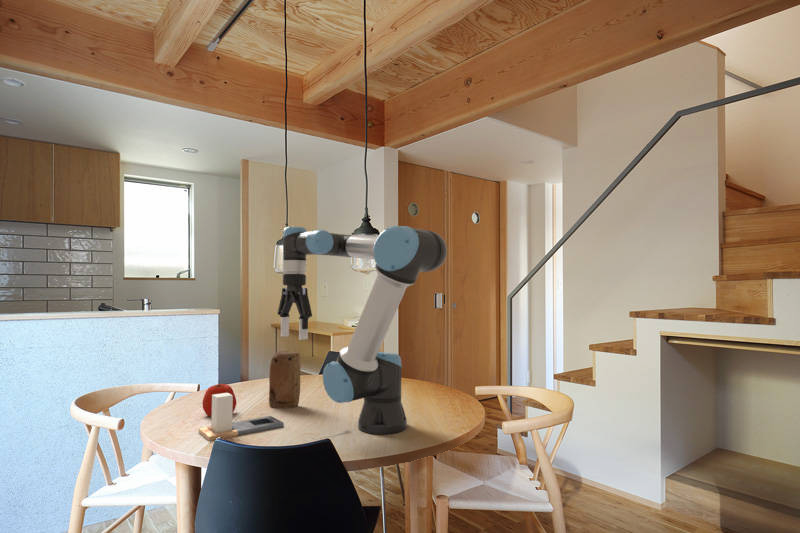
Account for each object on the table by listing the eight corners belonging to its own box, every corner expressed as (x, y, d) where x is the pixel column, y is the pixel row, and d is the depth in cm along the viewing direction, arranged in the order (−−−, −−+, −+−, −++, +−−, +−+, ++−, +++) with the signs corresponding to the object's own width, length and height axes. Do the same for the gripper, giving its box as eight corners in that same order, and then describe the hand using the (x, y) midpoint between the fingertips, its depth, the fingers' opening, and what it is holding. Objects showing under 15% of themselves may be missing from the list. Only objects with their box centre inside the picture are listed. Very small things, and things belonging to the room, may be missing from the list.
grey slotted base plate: (283, 429, 143) (283, 422, 143) (208, 444, 129) (209, 436, 129) (270, 422, 150) (270, 415, 151) (198, 435, 137) (198, 428, 137)
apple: (202, 412, 162) (203, 381, 163) (235, 409, 166) (236, 379, 166) (201, 420, 152) (202, 387, 153) (236, 417, 156) (237, 385, 156)
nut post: (232, 433, 136) (232, 395, 136) (216, 436, 133) (216, 397, 133) (226, 430, 139) (227, 392, 140) (211, 432, 136) (212, 394, 137)
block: (301, 405, 173) (302, 350, 174) (296, 410, 165) (296, 353, 166) (272, 404, 173) (273, 350, 174) (265, 409, 166) (266, 353, 167)
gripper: (323, 272, 148) (322, 340, 147) (288, 274, 168) (287, 334, 167) (301, 272, 144) (300, 341, 142) (268, 274, 163) (267, 335, 162)
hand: (293, 337), depth 155 cm, fingers open, 13 cm apart
